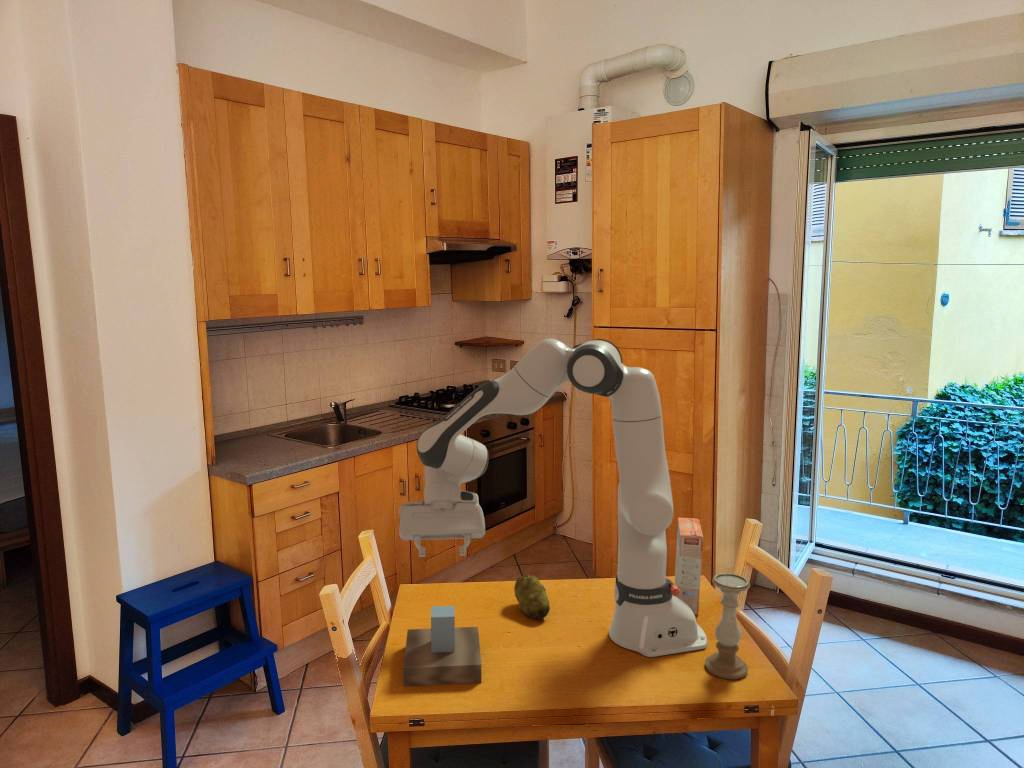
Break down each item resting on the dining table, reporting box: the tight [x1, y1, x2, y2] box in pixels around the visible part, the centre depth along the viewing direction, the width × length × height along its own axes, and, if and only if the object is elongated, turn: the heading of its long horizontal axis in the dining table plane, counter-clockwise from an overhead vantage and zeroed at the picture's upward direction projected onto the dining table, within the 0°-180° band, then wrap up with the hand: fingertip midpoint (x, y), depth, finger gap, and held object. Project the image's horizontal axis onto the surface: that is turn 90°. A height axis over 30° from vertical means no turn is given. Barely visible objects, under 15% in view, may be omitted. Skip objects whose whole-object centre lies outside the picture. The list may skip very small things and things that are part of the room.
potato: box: [514, 574, 551, 620], centre depth 175 cm, size 8×13×8 cm, turn 4°
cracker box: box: [673, 517, 704, 616], centre depth 179 cm, size 14×6×21 cm, turn 168°
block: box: [430, 605, 456, 653], centre depth 150 cm, size 5×5×8 cm
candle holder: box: [704, 572, 751, 680], centre depth 149 cm, size 9×9×20 cm
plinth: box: [402, 626, 482, 687], centre depth 151 cm, size 16×16×4 cm
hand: (442, 555), depth 160 cm, fingers open, 8 cm apart
